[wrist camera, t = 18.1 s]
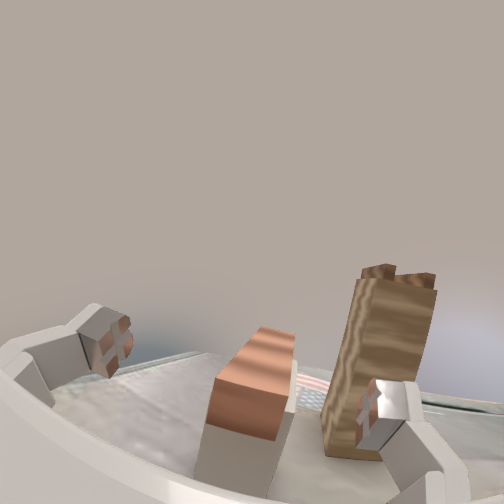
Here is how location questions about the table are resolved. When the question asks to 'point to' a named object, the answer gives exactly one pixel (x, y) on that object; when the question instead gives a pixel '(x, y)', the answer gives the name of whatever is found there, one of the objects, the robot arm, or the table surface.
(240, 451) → the shelf
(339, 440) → the chute stand
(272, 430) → the bar
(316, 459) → the table surface
